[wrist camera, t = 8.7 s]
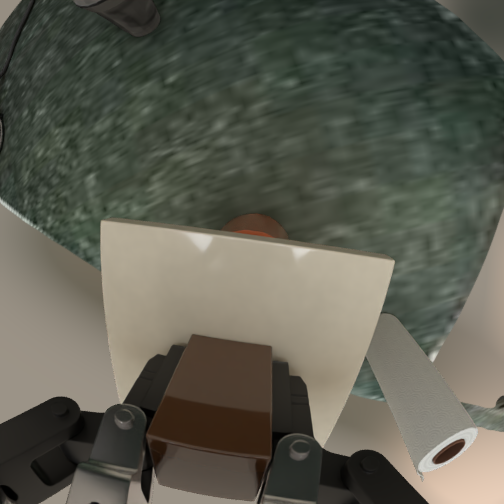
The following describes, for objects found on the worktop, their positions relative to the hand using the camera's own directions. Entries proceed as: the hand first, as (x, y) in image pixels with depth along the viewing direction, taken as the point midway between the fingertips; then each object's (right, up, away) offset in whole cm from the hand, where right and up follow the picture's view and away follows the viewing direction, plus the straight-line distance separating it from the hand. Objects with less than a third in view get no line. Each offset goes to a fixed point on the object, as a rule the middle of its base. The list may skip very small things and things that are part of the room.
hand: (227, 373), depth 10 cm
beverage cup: (-13, +34, +15) cm, 39 cm away
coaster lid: (0, 0, +1) cm, 1 cm away
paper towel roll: (+18, -6, +24) cm, 31 cm away
